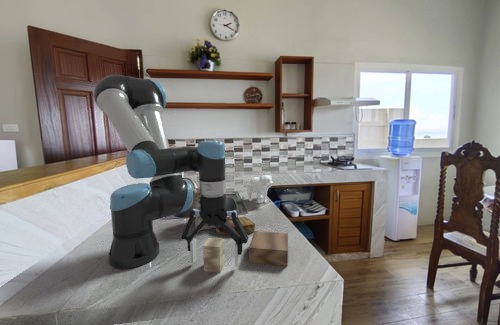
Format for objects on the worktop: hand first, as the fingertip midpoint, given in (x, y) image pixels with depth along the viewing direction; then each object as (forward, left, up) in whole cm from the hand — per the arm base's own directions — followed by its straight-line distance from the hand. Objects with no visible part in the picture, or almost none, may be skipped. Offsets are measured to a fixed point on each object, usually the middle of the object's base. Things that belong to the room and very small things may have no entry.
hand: (215, 262), depth 70 cm
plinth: (+16, +10, -2) cm, 19 cm away
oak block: (0, 0, -2) cm, 2 cm away
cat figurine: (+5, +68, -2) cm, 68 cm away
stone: (0, +27, -2) cm, 27 cm away
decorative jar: (-13, +31, -2) cm, 34 cm away
